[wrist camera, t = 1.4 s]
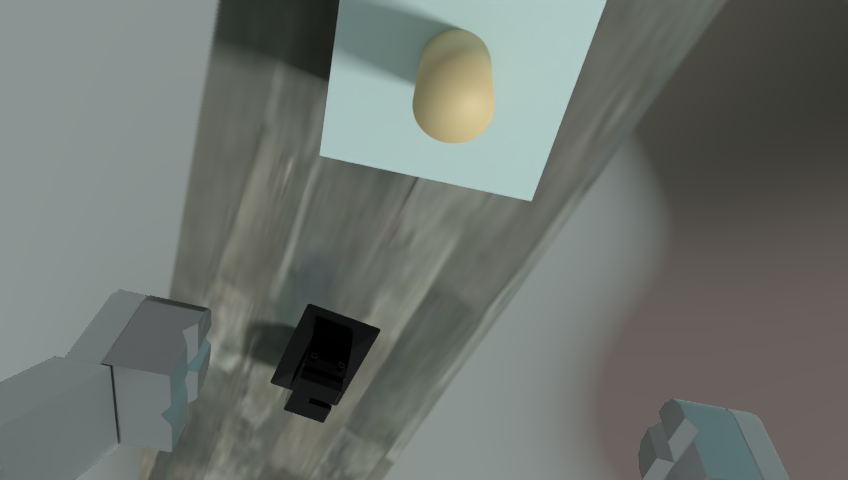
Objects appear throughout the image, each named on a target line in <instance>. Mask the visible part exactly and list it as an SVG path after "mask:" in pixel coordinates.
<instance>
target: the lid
mask: <svg viewBox="0 0 848 480" xmlns="http://www.w3.org/2000/svg"><path fill="white" fill-rule="evenodd" d="M606 1H607V0H340V2H339V10H338V17H337V25H336V33H335V41H334V48H333V56H332V64H331V72H330V80H329V87H328V95H327V103H326V111H325V118H324V126H323V134H322V142H321V149H320V156H324V157H329V158H333V159H338V160H343V161H347V162H352V163H357V164H361V165H366V166H370V167H375V168H380V169H384V170H389V171H394V172H398V173H403V174H408V175H412V176H417V177H421V178H426V179H431V180H435V181H440V182H445V183H449V184H454V185H459V186H463V187H468V188H472V189H477V190H482V191H486V192H491V193H496V194H500V195H505V196H509V197H514V198H519V199H523V200H528V201H532V198H533V196H534V193H535V190H536V188H537V185H538V182H539V180H540V177H541V174H542V172H543V169H544V166H545V164H546V161H547V158H548V156H549V153H550V150H551V148H552V145H553V142H554V140H555V137H556V134H557V131H558V129H559V126H560V123H561V121H562V118H563V115H564V113H565V110H566V107H567V105H568V102H569V99H570V97H571V94H572V91H573V89H574V86H575V83H576V81H577V78H578V75H579V73H580V70H581V67H582V65H583V62H584V59H585V57H586V54H587V51H588V49H589V46H590V43H591V41H592V38H593V35H594V33H595V30H596V27H597V25H598V22H599V19H600V17H601V14H602V11H603V9H604V6H605V3H606Z"/></svg>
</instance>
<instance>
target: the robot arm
mask: <svg viewBox="0 0 848 480" xmlns="http://www.w3.org/2000/svg"><path fill="white" fill-rule="evenodd" d="M210 327H211V310H210V309H209V308H205V307H201V306H196V305H192V304H187V303H183V302H178V301H173V300H169V299H164V298H160V297H155V296H151V295H150V296H147V295H143V294H139V293H134V292H129V291H125V290H121V289H120V290H118V291H117V292H115V293H113V294H112V295H111V296H110V297H109V299H108V300H107V301H106V303H105V304H104V305H103V307H102V308H101V310H100V311H99V312H98V314H97V315H96V316H95V318H94V319H93V320H92V321H91V323H90V324H89V326H88V327H87V328H86V330H85V331H84V332H83V334H82V335H81V336H80V338H79V339H78V340H77V342H76V343H75V344H74V346H73V347H72V348H71V350H70V351H69V352H68V354H67V355H66V357H65V358H63V357H57V356H54V357H53V358H50V359H48V360H46V361H44V362H42V363H40V364H38V365H36V366H33V367H31V368H29V369H27V370H25V371H23V372H21V373H19V374H17V375H14V376H12V377H10V378H8V379H6V380H4V381H2V382H0V480H75V479H77V478H78V477H79V476H81V475H82V474H83V473H85V472H86V471H87V470H89V469H90V468H91V467H93V466H94V465H95V464H97V463H98V462H99V461H100V460H102V459H103V458H105V457H106V456H107V455H108V454H110V453H111V452H112V451H114V450H115V449H117V448H118V444H122V445H128V446H135V447H141V448H148V449H155V450H162V451H168V452H172V451H173V449H174V447H175V445H176V442H177V440H178V438H179V436H180V434H181V432H182V430H183V427H184V425H185V423H186V421H187V416H188V403H190V402H191V401H193V400H194V399H196V398H197V397H198V395H199V393H200V390H201V388H202V386H203V383H204V380H205V377H206V373H207V370H208V366H209V360H210V351H211V344H210V343H209V341H208V340H207V339H206V338H205V337H206V335H207V333H208V331H209V329H210ZM659 415H660V417H661V421H662V422H660V423H657V424H656V425H653V426H651V427H649V428H648V429H647V431H646V433H645V435H644V436H643V438H642V440H641V444H640V449H639V454H638V457H639V469H640V473H641V477H642V480H790V479H789V477H788V475H787V473H786V471H785V469H784V467H783V465H782V463H781V461H780V459H779V457H778V455H777V452H776V451H775V448H774V446H773V444H772V442H771V440H770V438H769V436H768V435H767V432H766V430H765V428H764V426H763V424H762V422H761V420H760V419H759V418H758V417H757V416H755V414H753V413H748V412H743V411H737V410H732V409H723V408H720V407H714V406H710V405H704V404H699V403H693V402H688V401H683V400H677V399H670V400H669V401H667V402H665V404H664V405H663V406H662V408H661V409H660V411H659Z"/></svg>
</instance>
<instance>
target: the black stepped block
mask: <svg viewBox="0 0 848 480" xmlns="http://www.w3.org/2000/svg"><path fill="white" fill-rule="evenodd" d="M379 332H380V329H379V328H376V327H373V326H370V325H368V324H365V323H362V322H359V321H357V320H354V319H351V318H348V317H345V316H343V315H340V314H337V313H334V312H332V311H329V310H326V309H323V308H321V307H318V306H315V305H312V304H308V305H307V307H306V309H305V311H304V313H303V315H302V317H301V320H300V322H299V324H298V326H297V328H296V330H295V332H294V334H293V336H292V338H291V340H290V342H289V344H288V346H287V348H286V351H285V353H284V355H283V357H282V359H281V361H280V363H279V365H278V367H277V369H276V371H275V373H274V375H273V377H272V379H271V383H272V384H275V385H278V386H281V387H284V388H286V389H289V391H288V394H287V398H286V403H285V406H284V410H286V411H289V412H292V413H295V414H298V415H301V416H304V417H307V418H310V419H313V420H316V421H319V422H322V423H324V421H325V419H326V418H327V416H328V414H329V412H330V411H331V407H332V406H331V405H338V403H339V401H340V400H341V398H342V396H343V394H344V393H345V391H346V389H347V388H348V386H349V384H350V382H351V381H352V379H353V377H354V375H355V374H356V372H357V370H358V369H359V367H360V365H361V363H362V362H363V360H364V358H365V357H366V355H367V353H368V351H369V350H370V348H371V346H372V344H373V343H374V341H375V339H376V338H377V336H378V334H379ZM330 404H331V405H330Z"/></svg>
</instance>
